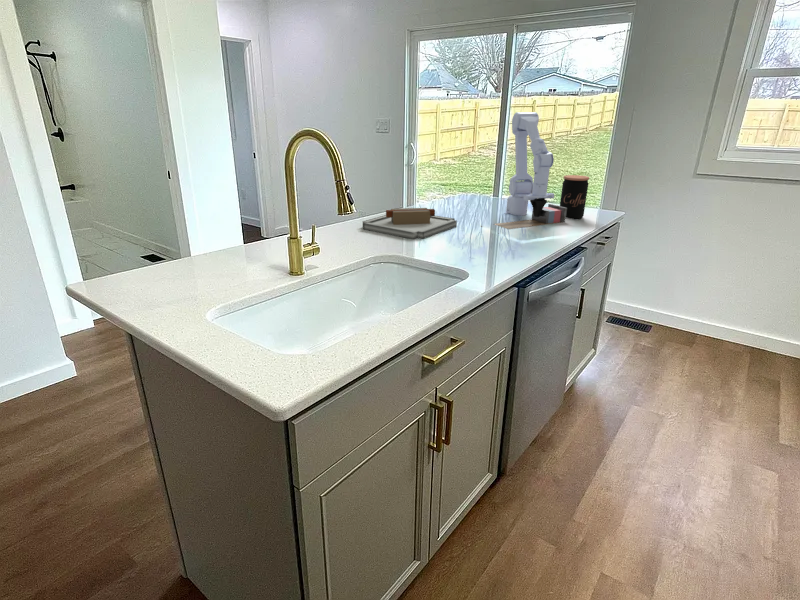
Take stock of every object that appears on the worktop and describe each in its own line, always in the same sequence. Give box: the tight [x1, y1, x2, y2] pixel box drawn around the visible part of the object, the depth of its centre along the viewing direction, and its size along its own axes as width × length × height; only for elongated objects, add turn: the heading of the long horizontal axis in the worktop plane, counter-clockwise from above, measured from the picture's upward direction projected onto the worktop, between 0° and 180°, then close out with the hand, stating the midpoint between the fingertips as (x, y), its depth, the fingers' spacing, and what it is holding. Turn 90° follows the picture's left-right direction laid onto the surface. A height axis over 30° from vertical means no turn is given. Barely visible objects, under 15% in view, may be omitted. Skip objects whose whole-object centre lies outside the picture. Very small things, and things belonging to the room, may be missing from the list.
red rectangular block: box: [543, 206, 561, 224], centre depth 199 cm, size 8×4×5 cm, turn 26°
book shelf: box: [494, 203, 567, 230], centre depth 194 cm, size 10×30×7 cm, turn 116°
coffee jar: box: [559, 174, 590, 221], centre depth 207 cm, size 11×11×18 cm
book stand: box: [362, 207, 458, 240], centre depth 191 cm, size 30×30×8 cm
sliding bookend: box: [531, 209, 549, 225], centre depth 196 cm, size 9×1×5 cm, turn 26°
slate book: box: [543, 208, 555, 225], centre depth 198 cm, size 8×4×5 cm, turn 26°
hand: (536, 216), depth 196 cm, fingers closed
